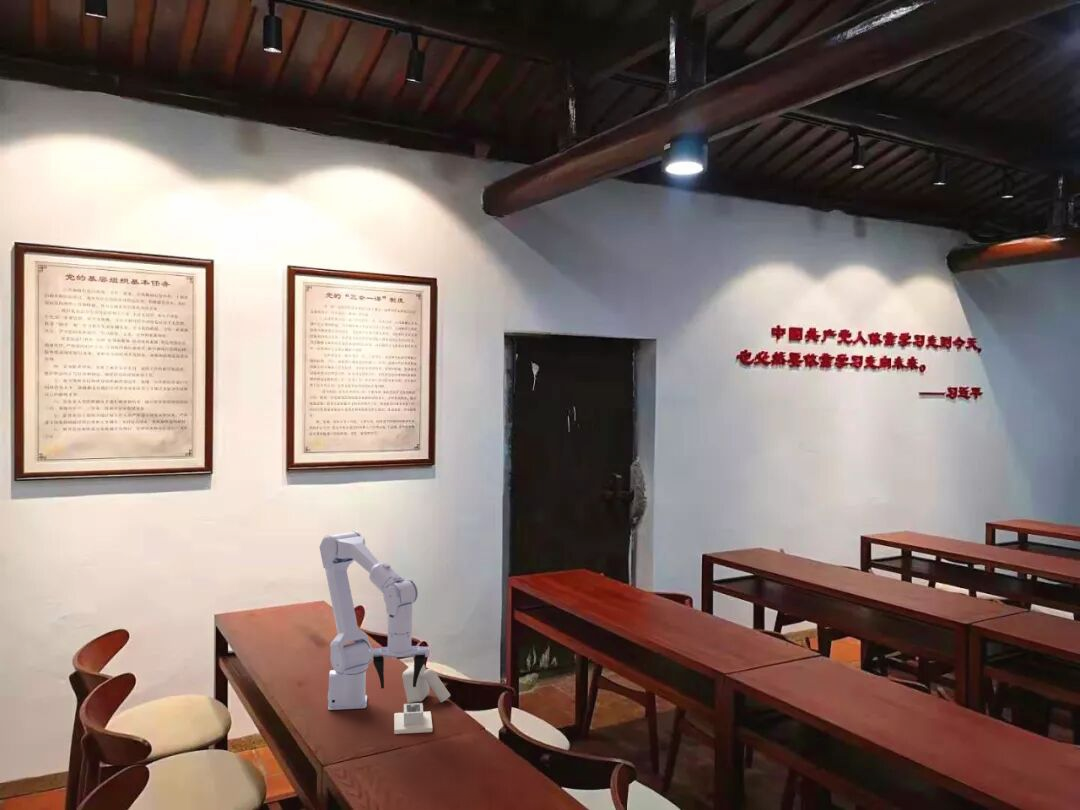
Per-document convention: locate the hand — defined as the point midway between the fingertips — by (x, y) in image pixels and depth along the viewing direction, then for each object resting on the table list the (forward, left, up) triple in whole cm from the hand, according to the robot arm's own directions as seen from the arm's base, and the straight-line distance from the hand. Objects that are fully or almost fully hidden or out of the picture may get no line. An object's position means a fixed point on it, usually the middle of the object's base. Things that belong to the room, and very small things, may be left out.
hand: (398, 686), depth 198 cm
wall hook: (+8, +14, -10) cm, 19 cm away
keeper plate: (+4, -1, -9) cm, 10 cm away
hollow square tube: (+4, -1, -8) cm, 9 cm away
